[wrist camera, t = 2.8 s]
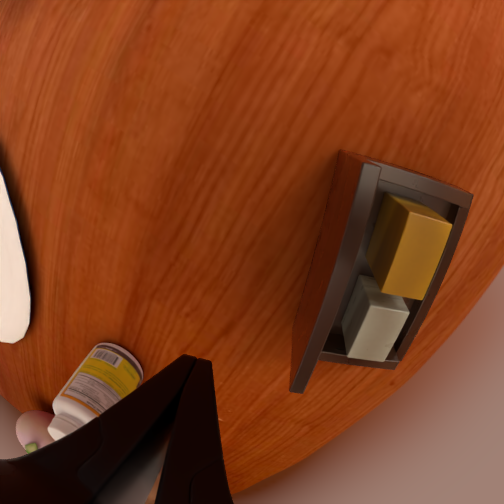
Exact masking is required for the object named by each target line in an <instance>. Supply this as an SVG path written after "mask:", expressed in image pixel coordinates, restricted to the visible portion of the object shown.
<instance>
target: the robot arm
mask: <svg viewBox="0 0 504 504" xmlns="http://www.w3.org/2000/svg"><path fill="white" fill-rule="evenodd" d="M162 466H163V468H162ZM161 468H162V472H161V476H160V481H159V485H158V489H157V494H156V498H155V503H154V504H234V503H233V500H232V497H231V494H230V490H229V486H228V481H227V476H226V471H225V465H224V459H223V452H222V444H221V437H220V430H219V422H218V414H217V405H216V397H215V388H214V379H213V369H212V362H211V361H210V360H206V359H202V358H198V359H197V358H196V357H194V356H191V355H187V354H183V355H181V356H180V357H179V358H177V359H176V360H175V361H173V362H172V363H171V364H169V365H168V366H167V367H165V368H164V369H163V370H161V371H160V372H159V373H157V374H156V375H154V376H153V377H152V378H150V379H149V380H148V381H146V382H145V383H143V384H142V385H141V386H139V387H138V388H137V389H135V390H134V391H132V392H131V393H130V394H128V395H127V396H125V397H124V398H123V399H121V400H120V401H118V402H117V403H115V404H114V405H113V406H111V407H110V408H108V409H107V410H105V411H104V412H103V413H101V414H100V415H99V417H95V418H94V419H92V420H91V421H89V422H88V423H86V424H85V425H83V426H82V427H80V428H78V429H77V430H75V431H74V432H72V433H70V434H68V435H66V436H64V437H62V438H60V439H58V440H56V441H54V442H52V443H50V444H48V445H46V446H44V447H42V448H39V449H37V450H35V451H33V452H31V453H28V454H26V455H24V456H21V457H18V458H13V459H0V504H145V502H146V500H147V498H148V496H149V494H150V492H151V489H152V487H153V485H154V483H155V481H156V479H157V477H158V475H159V473H160V470H161Z"/></svg>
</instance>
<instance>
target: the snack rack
mask: <svg viewBox="0 0 504 504" xmlns="http://www.w3.org/2000/svg"><path fill="white" fill-rule="evenodd" d="M472 199H473V194H471V193H469V192H467V191H465V190H463V189H461V188H459V187H457V186H454V185H452V184H449V183H446V182H444V181H441V180H438V179H436V178H433V177H430V176H427V175H424V174H421V173H419V172H416V171H413V170H410V169H407V168H403V167H400V166H397V165H394V164H391V163H388V162H384V161H381V160H378V159H374V158H371V157H367V156H363V155H360V154H356V153H352V152H349V151H345V150H339V155H338V159H337V164H336V168H335V172H334V177H333V181H332V185H331V190H330V194H329V198H328V202H327V206H326V210H325V214H324V218H323V222H322V226H321V230H320V234H319V238H318V241H317V245H316V249H315V253H314V256H313V260H312V263H311V267H310V271H309V274H308V278H307V281H306V285H305V288H304V292H303V295H302V298H301V302H300V305H299V308H298V312H297V315H296V318H295V321H294V325H293V337H292V355H291V372H290V387H289V391H290V392H294V393H300V394H303V393H304V390H305V388H306V386H307V384H308V382H309V379H310V377H311V375H312V373H313V370H314V368H315V366H316V363H317V361H318V360H321V361H328V362H335V363H341V364H349V365H356V366H364V367H372V368H381V369H391V370H395V368H396V367H397V365H398V364H399V361H401V360H402V359H403V357H404V355H405V354H406V352H407V350H408V349H409V347H410V345H411V343H412V341H413V340H414V338H415V336H416V334H417V332H418V330H419V329H420V327H421V325H422V323H423V321H424V319H425V317H426V315H427V313H428V311H429V309H430V307H431V305H432V303H433V301H434V299H435V296H436V294H437V292H438V290H439V288H440V286H441V283H442V281H443V279H444V276H445V274H446V272H447V269H448V267H449V265H450V262H451V260H452V257H453V255H454V252H455V249H456V247H457V244H458V241H459V239H460V236H461V233H462V230H463V227H464V224H465V221H466V218H467V215H468V212H469V209H470V206H471V202H472Z"/></svg>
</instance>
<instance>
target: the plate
mask: <svg viewBox="0 0 504 504" xmlns="http://www.w3.org/2000/svg"><path fill="white" fill-rule="evenodd" d="M30 316H31V292H30V285H29V277H28V269H27V262H26V258H25V254H24V250H23V245H22V241H21V237H20V232H19V227H18V222H17V218H16V215H15V212H14V209H13V206H12V203H11V199H10V196H9V192H8V189H7V185H6V181H5V178H4V175H3V173H2V170H1V168H0V342H7V343H15V342H17V341H18V340H20V339H22V338H23V337H24V336H25V333H26V331H27V329H28V326H29V324H30Z"/></svg>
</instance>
